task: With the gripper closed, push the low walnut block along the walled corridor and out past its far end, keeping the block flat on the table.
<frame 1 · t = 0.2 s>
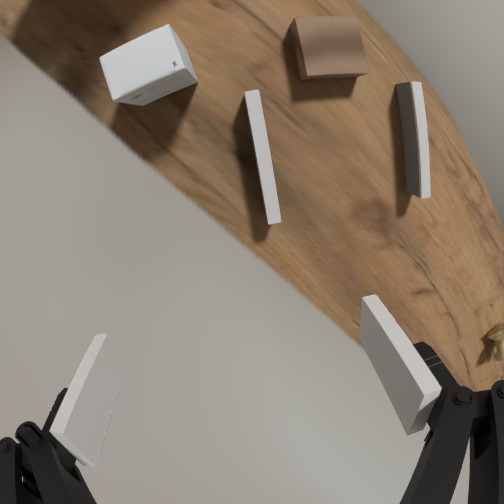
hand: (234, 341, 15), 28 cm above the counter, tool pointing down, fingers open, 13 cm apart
corridor walls: (339, 143, 38), on the counter
beige lumpy piece: (493, 335, 56), on the counter
small box: (163, 76, 33), on the counter
walnut block: (323, 51, 33), on the counter
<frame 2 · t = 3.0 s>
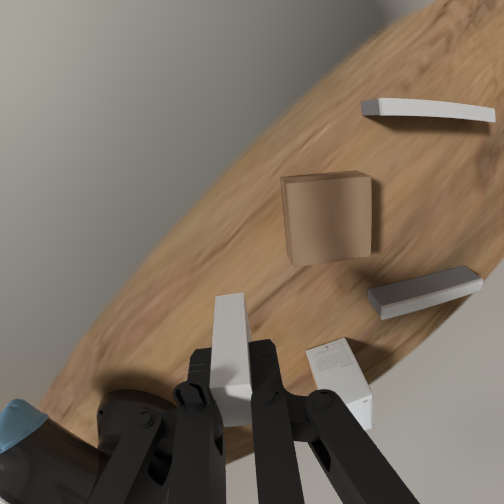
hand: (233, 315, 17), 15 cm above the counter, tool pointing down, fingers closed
corridor walls: (427, 201, 31), on the counter
small box: (328, 361, 39), on the counter
walnut block: (320, 210, 31), on the counter
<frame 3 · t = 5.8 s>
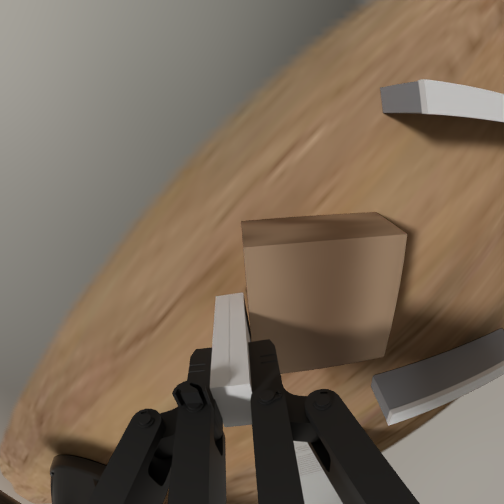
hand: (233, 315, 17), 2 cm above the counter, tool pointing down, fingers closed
corridor walls: (471, 252, 19), on the counter
small box: (314, 447, 27), on the counter
walnut block: (310, 276, 19), on the counter, touching gripper
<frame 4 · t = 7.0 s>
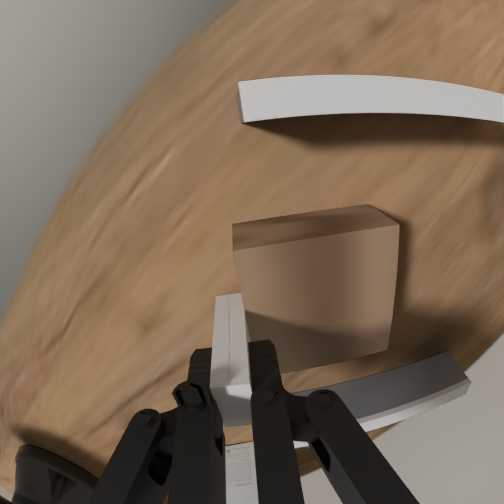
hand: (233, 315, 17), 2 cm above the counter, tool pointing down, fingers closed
corridor walls: (385, 271, 19), on the counter
small box: (240, 458, 27), on the counter
walnut block: (308, 274, 19), on the counter, touching gripper
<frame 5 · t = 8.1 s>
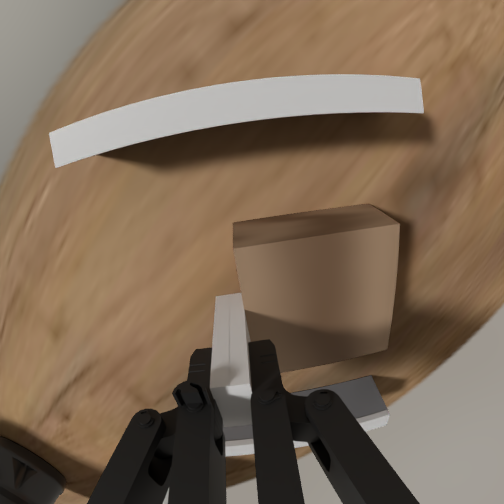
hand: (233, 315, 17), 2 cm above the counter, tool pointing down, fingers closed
corridor walls: (262, 292, 19), on the counter
walnut block: (308, 273, 19), on the counter, touching gripper
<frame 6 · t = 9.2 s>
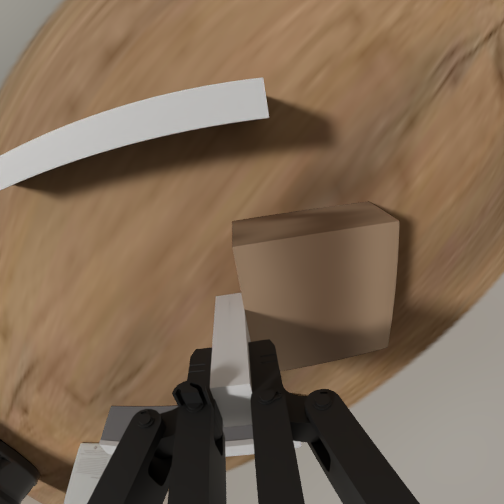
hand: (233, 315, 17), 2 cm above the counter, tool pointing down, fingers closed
corridor walls: (155, 307, 19), on the counter
small box: (117, 457, 27), on the counter
walnut block: (307, 271, 19), on the counter
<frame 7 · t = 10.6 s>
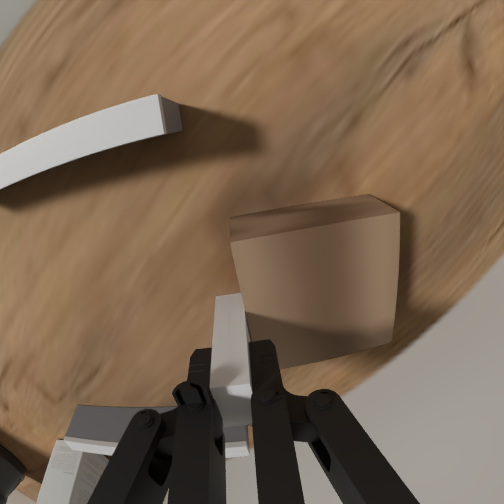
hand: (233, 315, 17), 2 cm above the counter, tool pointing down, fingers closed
corridor walls: (103, 313, 18), on the counter
small box: (91, 454, 27), on the counter
walnut block: (308, 266, 18), on the counter
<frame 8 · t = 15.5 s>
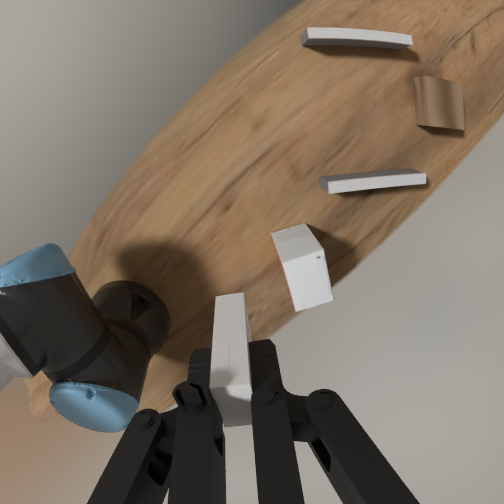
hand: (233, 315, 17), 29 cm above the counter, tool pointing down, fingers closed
corridor walls: (363, 107, 39), on the counter
small box: (293, 249, 48), on the counter
walnut block: (432, 103, 39), on the counter
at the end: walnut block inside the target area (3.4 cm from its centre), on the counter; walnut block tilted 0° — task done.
